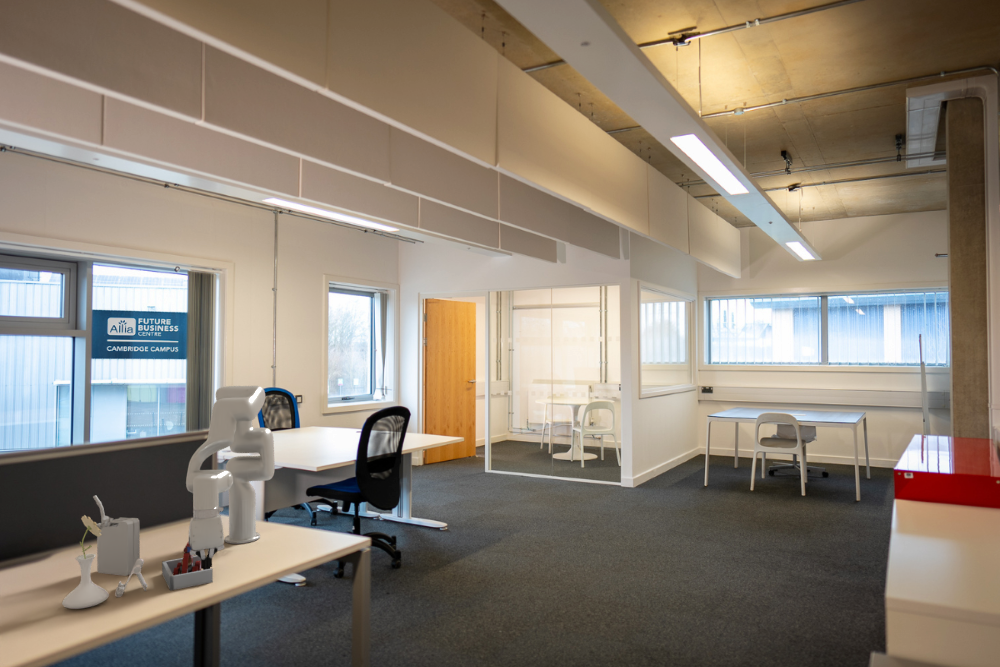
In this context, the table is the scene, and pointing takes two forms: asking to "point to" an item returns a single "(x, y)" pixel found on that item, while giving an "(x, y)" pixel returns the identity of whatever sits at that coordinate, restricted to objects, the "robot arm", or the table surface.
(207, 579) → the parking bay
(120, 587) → the portable electronic device stand
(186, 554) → the toy fire truck
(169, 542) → the table surface
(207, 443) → the robot arm
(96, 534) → the flower in vase
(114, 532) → the fuel canister
